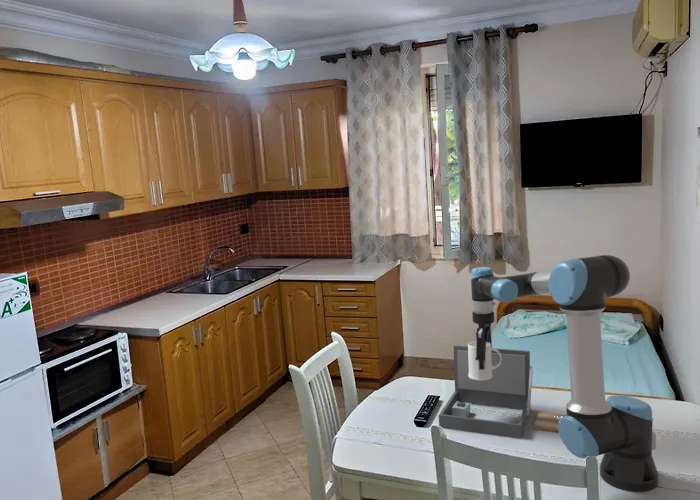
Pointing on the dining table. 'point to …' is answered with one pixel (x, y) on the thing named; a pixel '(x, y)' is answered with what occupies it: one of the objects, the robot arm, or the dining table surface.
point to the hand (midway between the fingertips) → (485, 373)
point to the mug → (474, 363)
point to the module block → (461, 409)
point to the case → (491, 392)
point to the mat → (547, 421)
